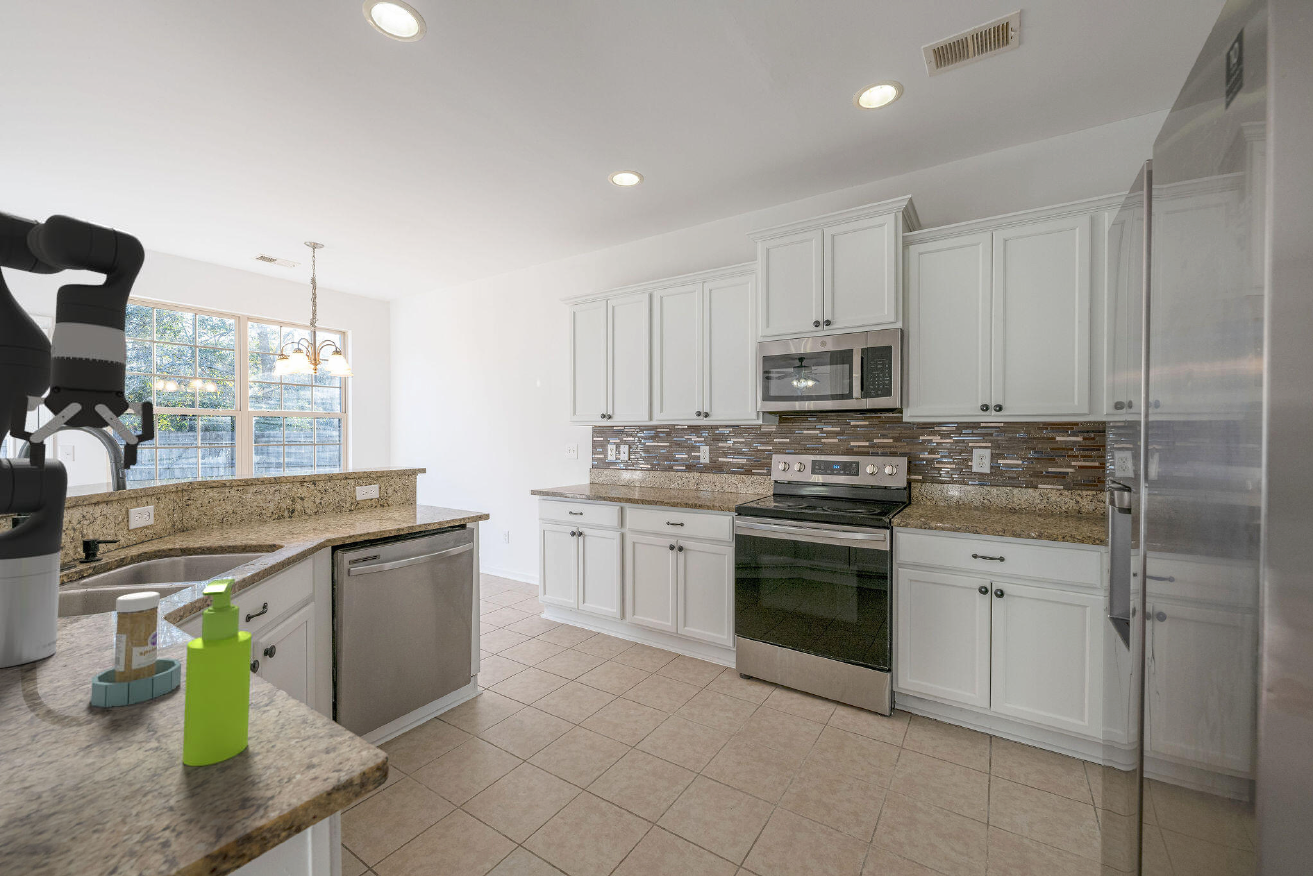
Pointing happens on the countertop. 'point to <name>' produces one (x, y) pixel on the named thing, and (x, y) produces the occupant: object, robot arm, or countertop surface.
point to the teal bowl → (135, 685)
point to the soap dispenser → (217, 683)
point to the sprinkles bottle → (136, 636)
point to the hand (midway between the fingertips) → (85, 469)
